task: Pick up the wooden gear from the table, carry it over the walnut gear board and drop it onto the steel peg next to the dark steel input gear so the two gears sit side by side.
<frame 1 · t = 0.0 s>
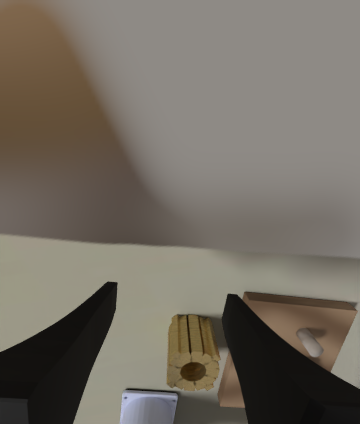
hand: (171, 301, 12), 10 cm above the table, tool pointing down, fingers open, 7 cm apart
gear board: (278, 351, 27), on the table
wooden gear: (189, 332, 26), on the table
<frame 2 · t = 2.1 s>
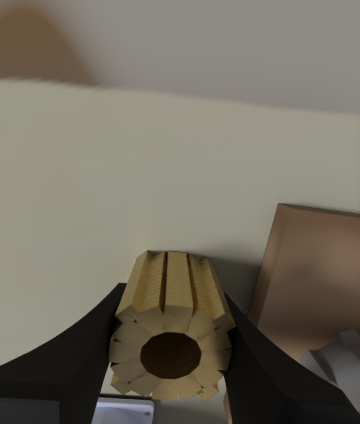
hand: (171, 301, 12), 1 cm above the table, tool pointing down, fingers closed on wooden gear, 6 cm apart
gear board: (332, 325, 15), on the table
wooden gear: (171, 287, 14), on the table, touching gripper
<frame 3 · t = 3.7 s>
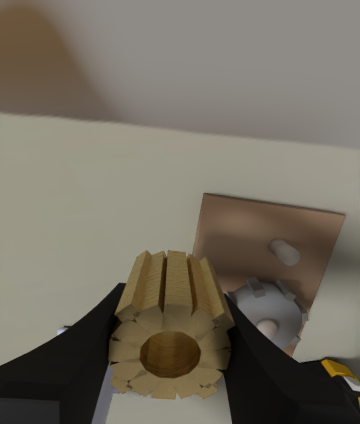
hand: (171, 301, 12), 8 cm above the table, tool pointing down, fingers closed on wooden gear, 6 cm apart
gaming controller: (300, 383, 27), on the table
gear board: (249, 278, 22), on the table
wooden gear: (171, 286, 14), point 7 cm above the table, touching gripper
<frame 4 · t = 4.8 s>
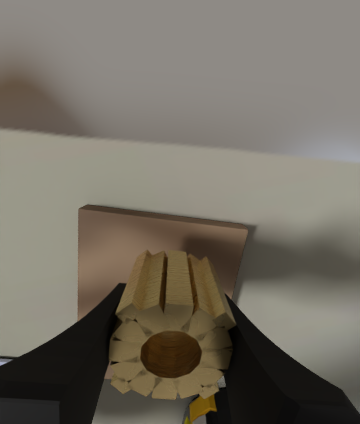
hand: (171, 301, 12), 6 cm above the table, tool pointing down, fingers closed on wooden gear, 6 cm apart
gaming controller: (233, 407, 24), on the table
gear board: (155, 299, 19), on the table
wooden gear: (171, 286, 14), point 5 cm above the table, touching gripper
when the fingers open (4 cm above the table, at t = 5.8 s): wooden gear stays where it is, resting on gear board.
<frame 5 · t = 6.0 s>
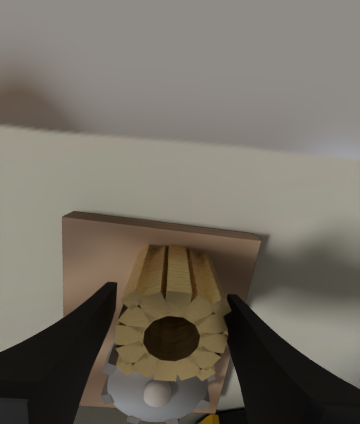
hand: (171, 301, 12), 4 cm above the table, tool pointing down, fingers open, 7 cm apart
gear board: (153, 317, 17), on the table
wooden gear: (172, 279, 14), point 1 cm above the table, touching gear board
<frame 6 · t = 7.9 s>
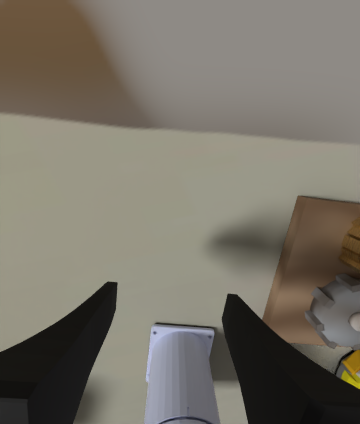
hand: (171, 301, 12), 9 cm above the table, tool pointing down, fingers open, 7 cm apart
gear board: (331, 275, 23), on the table
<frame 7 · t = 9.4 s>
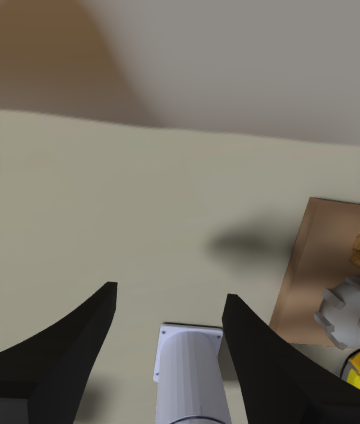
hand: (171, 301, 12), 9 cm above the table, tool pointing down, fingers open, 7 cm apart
gear board: (341, 276, 23), on the table
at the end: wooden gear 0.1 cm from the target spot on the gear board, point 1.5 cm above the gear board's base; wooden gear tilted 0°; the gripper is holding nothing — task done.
